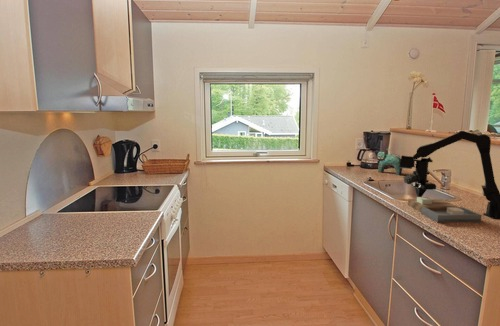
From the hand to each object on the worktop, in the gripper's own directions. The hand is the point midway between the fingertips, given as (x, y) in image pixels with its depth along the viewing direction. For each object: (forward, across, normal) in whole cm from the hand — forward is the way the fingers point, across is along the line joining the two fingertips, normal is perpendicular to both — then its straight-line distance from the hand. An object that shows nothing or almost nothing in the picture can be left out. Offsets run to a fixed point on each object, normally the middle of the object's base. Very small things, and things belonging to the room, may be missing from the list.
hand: (418, 198), depth 167 cm
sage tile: (+1, +5, 0) cm, 5 cm away
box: (+4, +20, +4) cm, 20 cm away
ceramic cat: (+4, -88, +26) cm, 92 cm away
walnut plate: (+4, +6, +4) cm, 8 cm away
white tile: (+2, +18, +7) cm, 20 cm away
